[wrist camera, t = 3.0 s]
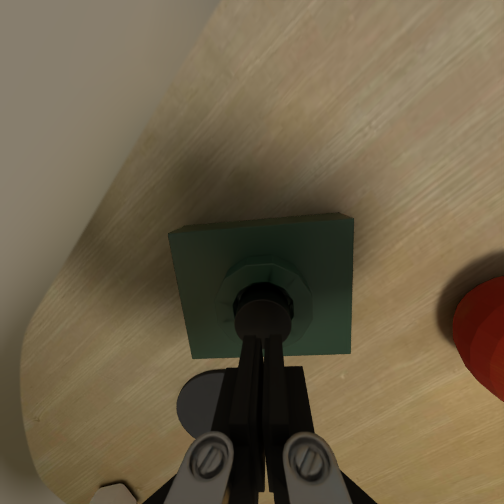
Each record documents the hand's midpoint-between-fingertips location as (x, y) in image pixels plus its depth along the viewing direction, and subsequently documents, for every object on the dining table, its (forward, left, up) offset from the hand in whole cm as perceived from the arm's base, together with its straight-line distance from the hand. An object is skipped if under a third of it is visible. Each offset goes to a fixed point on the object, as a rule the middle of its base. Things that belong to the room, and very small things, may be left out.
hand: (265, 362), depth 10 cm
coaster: (-5, -14, -9) cm, 18 cm away
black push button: (0, 0, -5) cm, 5 cm away
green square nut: (0, 0, -9) cm, 9 cm away
